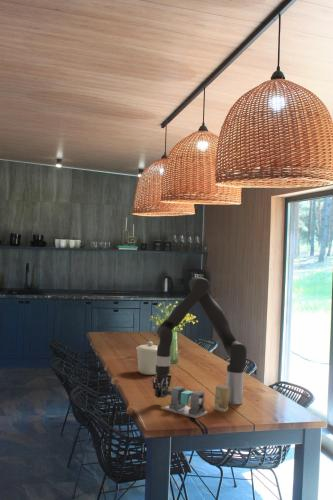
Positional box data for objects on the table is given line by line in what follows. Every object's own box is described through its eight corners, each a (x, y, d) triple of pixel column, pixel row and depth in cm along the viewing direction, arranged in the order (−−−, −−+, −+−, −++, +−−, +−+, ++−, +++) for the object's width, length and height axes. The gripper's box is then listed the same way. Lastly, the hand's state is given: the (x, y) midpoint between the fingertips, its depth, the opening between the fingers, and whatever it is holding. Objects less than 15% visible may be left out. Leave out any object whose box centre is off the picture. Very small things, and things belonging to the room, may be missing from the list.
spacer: (187, 400, 263) (187, 390, 263) (193, 402, 261) (194, 391, 261) (180, 403, 258) (181, 392, 258) (187, 405, 256) (187, 394, 256)
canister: (161, 377, 328) (163, 344, 328) (133, 375, 329) (135, 343, 329) (162, 370, 346) (164, 340, 346) (136, 369, 347) (137, 338, 347)
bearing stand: (175, 404, 270) (176, 383, 270) (207, 413, 258) (208, 391, 259) (163, 409, 261) (164, 387, 261) (195, 418, 250) (197, 395, 250)
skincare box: (213, 409, 266) (215, 386, 266) (217, 407, 269) (219, 384, 269) (224, 412, 262) (226, 388, 262) (228, 410, 266) (229, 386, 266)
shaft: (154, 395, 269) (155, 386, 269) (160, 394, 273) (160, 384, 273) (198, 407, 252) (199, 397, 252) (203, 405, 256) (204, 395, 257)
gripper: (165, 361, 277) (163, 392, 277) (149, 364, 266) (147, 397, 266) (176, 363, 273) (174, 395, 273) (160, 367, 261) (158, 400, 261)
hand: (161, 396), depth 269 cm, fingers closed on shaft, 5 cm apart
